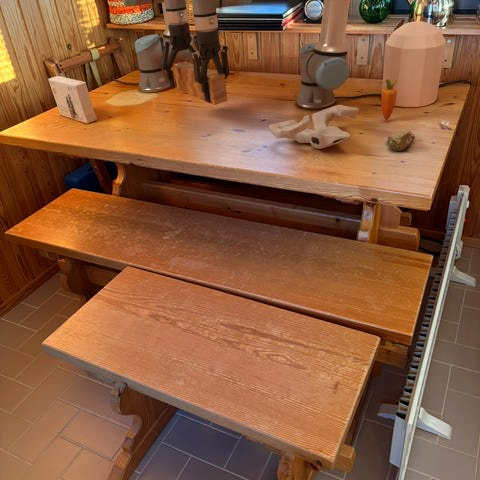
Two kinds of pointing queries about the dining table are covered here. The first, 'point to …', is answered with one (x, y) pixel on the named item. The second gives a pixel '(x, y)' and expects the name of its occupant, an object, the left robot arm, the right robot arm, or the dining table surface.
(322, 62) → the right robot arm
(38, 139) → the dining table surface
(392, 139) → the rock
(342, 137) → the cream branched piece
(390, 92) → the carrot
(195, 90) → the bar
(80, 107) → the skincare box
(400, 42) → the container
